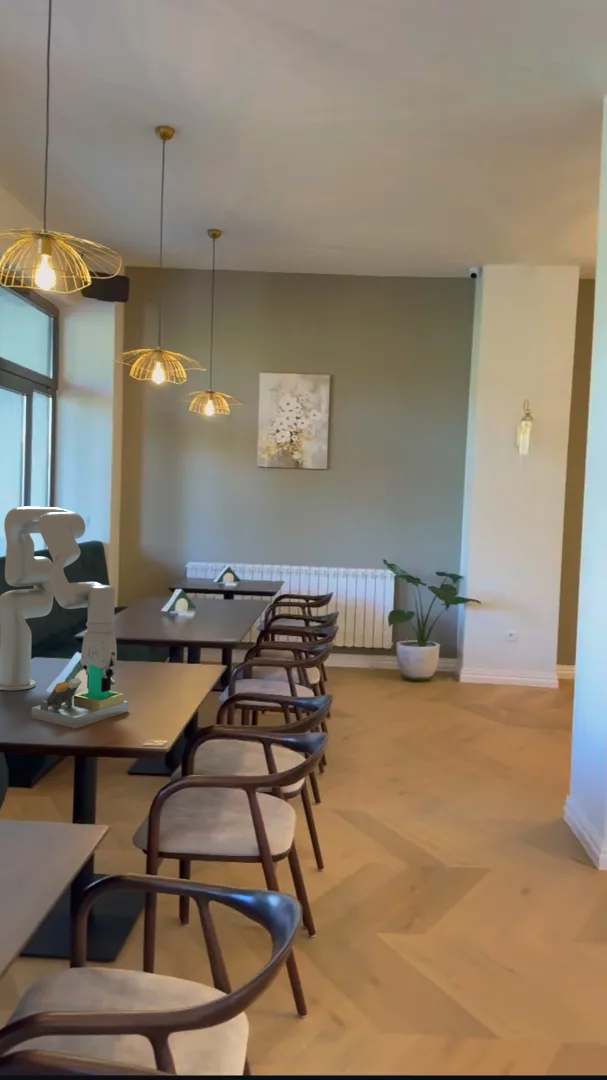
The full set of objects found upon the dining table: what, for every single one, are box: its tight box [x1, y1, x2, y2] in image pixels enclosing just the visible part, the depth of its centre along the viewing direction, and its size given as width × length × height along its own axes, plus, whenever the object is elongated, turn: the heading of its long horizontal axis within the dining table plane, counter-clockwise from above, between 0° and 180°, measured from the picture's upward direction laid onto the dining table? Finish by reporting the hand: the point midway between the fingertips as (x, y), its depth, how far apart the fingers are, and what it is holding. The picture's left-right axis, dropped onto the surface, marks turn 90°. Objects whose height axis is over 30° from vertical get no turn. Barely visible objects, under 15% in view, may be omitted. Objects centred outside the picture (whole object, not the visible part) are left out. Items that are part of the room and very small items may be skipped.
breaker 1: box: [46, 681, 69, 708], centre depth 214 cm, size 2×3×9 cm
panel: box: [31, 690, 129, 730], centre depth 221 cm, size 17×21×6 cm
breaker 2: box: [61, 677, 82, 704], centre depth 219 cm, size 2×3×9 cm
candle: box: [87, 665, 110, 700], centre depth 223 cm, size 6×6×12 cm
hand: (98, 688), depth 223 cm, fingers closed on candle, 4 cm apart
